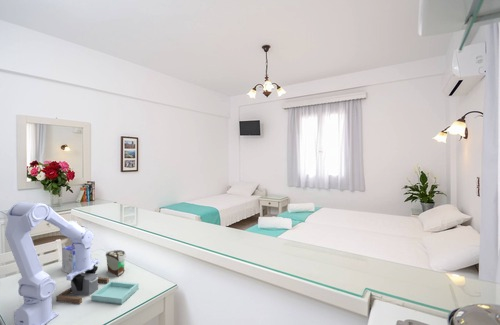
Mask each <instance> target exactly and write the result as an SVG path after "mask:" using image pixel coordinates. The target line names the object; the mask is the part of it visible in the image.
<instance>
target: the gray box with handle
mask: <svg viewBox="0 0 500 325" xmlns="http://www.w3.org/2000/svg"><path fill="white" fill-rule="evenodd" d="M80 275H81V276H85V277H84V280H83V289H82V291H77V289H76V287H75V285H74V283H73V282H72V281H70V287H71V291H72V292H71V294H73V295H74V294H75V295H82V296H83V295H84V296H91V295H92V294H94V293H95V292H96V291H98V290H99V283H98V277H99V276H98V273H95V274H92V273H85V272H82V273H81V274H80Z"/></svg>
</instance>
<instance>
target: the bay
mask: <svg viewBox="0 0 500 325" xmlns="http://www.w3.org/2000/svg"><path fill="white" fill-rule="evenodd" d="M108 282H110V278H109V277H101V276H98V284H104V285H106V284H107V283H108ZM70 294H72V291H71V286H70V287H69V288H66V290H64V291H63V292H61V293H59V294H58V295H56V296H55V298H56V302H61V303H68V304H69V303H70V304H74V305H75V304H77V305H81V304H82V303H83V297H82V296H72V295H70Z"/></svg>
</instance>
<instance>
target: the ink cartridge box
mask: <svg viewBox="0 0 500 325" xmlns="http://www.w3.org/2000/svg"><path fill="white" fill-rule="evenodd" d="M76 244H77V243H76ZM61 262H62V263H61V264H62V265H61V269H62V270H61V271H62V272H65V273H68V274H70V273H71V272H72V271H73V270H74V269H75V268H76V263H75V243H73V242H72V244H70V245H68V246H64V247H61Z"/></svg>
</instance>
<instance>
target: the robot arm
mask: <svg viewBox="0 0 500 325" xmlns="http://www.w3.org/2000/svg"><path fill="white" fill-rule="evenodd" d="M6 216H7V222H6V227H5V235H4V236H5V237H6V240H7V243H8V245H9V249H10V250H11V253H12V255H13V259H14V260H15V264H16V266H17V268H18V270H19V274H20V276H21V278H20V279H19V280H18V281H17V283H18V290H17V291H18V296H20V297H22V298H23V299H22V300H23V303H22V305H21V306H19V307H18V308H17V309H16V310H15V311H14V313H13V314H14V317H13V318H14V325H46V324H47V323H49V322H50V321H52V320H54V318H56V317H57V316H59V314H60V313H59V312H54V311H53V305H52V304H53V302H52V301H53V300H52V296H53V294H54V292H55V291H56V288H57V283H56V281H55V280H54V279H52V278H51V275H49V274H48V272H46V271H45V270H44V269H43V266H42V264H41V261H40V258H39V255H38V253H37V250H36V246H35V245H34V244H35V243H34V241H33V239H32V236H31V234H30V233H31V232H32V231H33V230H34V229H35V228H36V227H37V226H38V225H40V224H41V223H42V222H43V221H45V222H47V223H49V224H51V225H53V226H54V227H56V228H58V229H59V233H60V234H61V235H63V236H65V237H67V238H69V240H70V242H71V243H72V244H73V243H75V244H74V245H75V263H76V268H75V269H74V270H73V271H72V272H71V273H68V274H67V275H66V281H70V282H71V281H72V282H73V283H74V285H75V287H76V289H77V291H82V289H83V280H84V277H85V276H81V275H80V274H81V273H92V274H97V271H98V266H97V265H99V264H100V259H99V258H97V259H96V258H95V259H92V245H93V241H94V238H95V234H93V232H92V231H91V230H86V227H85V226H81V225H80V224H78V221H77V220H66V219H65V218H64V217H62V215H60V214H58V212H56V211H55V210H53V208H52V207H51V206H48V205H47V204H45V203H42V202H41V203H40V202H39V203H37V202H36V203H35V202H25V201H19V202H17V203H15V204H13V205H12V206H11V207H10V209H9V210H8V211H7V212H6ZM76 243H77V244H76Z"/></svg>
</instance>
